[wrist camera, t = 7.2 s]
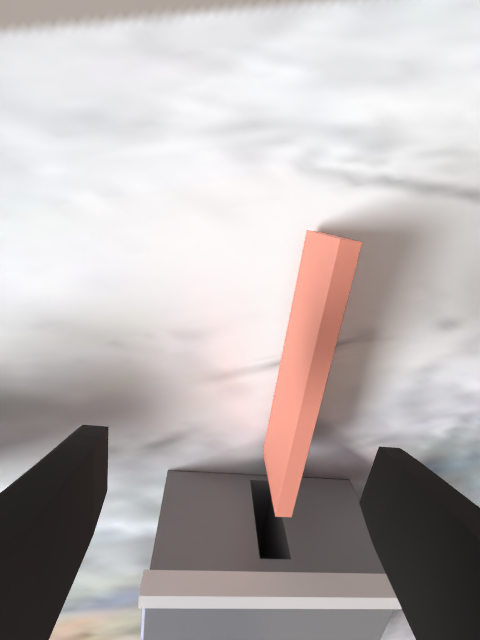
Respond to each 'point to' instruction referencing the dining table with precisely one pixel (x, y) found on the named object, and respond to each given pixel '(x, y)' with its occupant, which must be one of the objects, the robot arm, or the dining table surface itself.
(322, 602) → the grey slotted box
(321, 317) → the salmon pink plank
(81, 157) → the dining table surface
